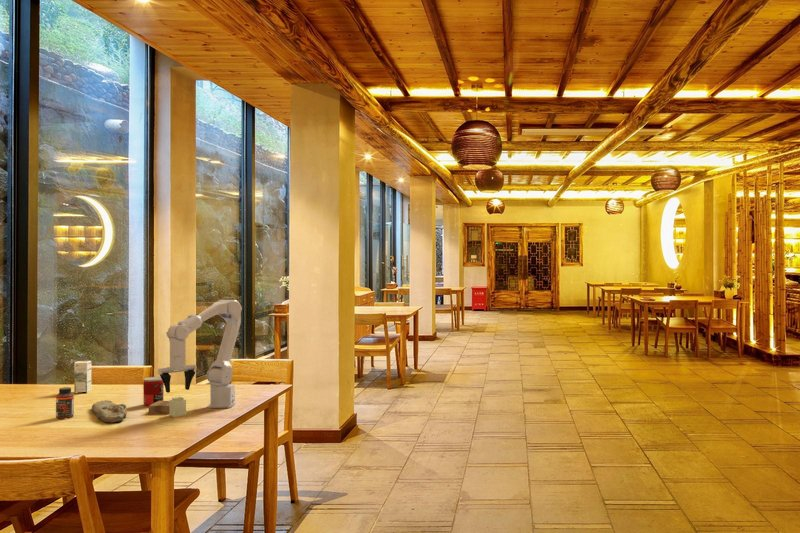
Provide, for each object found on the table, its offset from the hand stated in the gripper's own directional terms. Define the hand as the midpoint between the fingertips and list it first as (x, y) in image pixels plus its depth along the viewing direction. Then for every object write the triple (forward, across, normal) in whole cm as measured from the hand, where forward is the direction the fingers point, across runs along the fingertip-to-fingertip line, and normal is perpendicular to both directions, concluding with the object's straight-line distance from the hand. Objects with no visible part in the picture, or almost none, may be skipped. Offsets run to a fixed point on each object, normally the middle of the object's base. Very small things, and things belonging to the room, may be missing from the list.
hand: (177, 390), depth 228 cm
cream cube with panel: (+10, 0, 0) cm, 10 cm away
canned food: (+10, +1, +26) cm, 28 cm away
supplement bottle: (+10, -32, +27) cm, 43 cm away
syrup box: (+10, -13, +76) cm, 78 cm away
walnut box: (+10, -1, +11) cm, 14 cm away
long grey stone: (+10, -19, +20) cm, 30 cm away
